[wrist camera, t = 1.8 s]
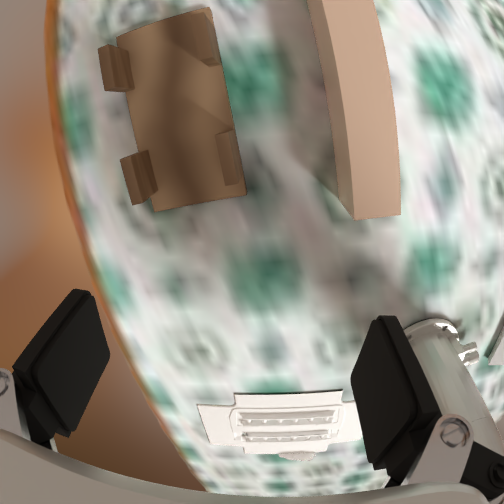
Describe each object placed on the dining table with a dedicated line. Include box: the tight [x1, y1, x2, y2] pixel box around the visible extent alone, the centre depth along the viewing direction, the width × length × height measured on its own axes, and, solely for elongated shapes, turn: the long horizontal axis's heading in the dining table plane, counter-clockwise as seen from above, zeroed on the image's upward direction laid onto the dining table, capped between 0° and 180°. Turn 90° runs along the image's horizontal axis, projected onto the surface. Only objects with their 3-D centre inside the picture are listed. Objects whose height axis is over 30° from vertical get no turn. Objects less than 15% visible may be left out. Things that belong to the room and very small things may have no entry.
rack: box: [98, 7, 247, 212], centre depth 23 cm, size 9×18×5 cm, turn 10°
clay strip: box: [306, 0, 401, 220], centre depth 21 cm, size 4×22×6 cm, turn 10°
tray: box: [198, 391, 362, 461], centre depth 44 cm, size 20×28×4 cm
